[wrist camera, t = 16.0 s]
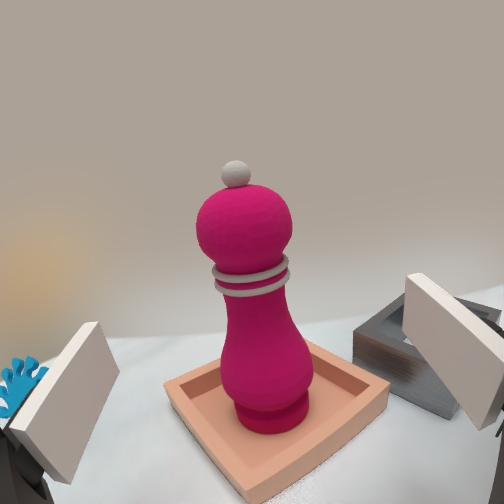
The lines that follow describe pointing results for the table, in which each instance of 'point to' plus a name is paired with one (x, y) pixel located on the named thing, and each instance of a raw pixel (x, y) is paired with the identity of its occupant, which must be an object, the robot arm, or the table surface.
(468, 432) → the table surface
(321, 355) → the terracotta tray
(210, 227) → the pepper mill
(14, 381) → the blue bumpy piece
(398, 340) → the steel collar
